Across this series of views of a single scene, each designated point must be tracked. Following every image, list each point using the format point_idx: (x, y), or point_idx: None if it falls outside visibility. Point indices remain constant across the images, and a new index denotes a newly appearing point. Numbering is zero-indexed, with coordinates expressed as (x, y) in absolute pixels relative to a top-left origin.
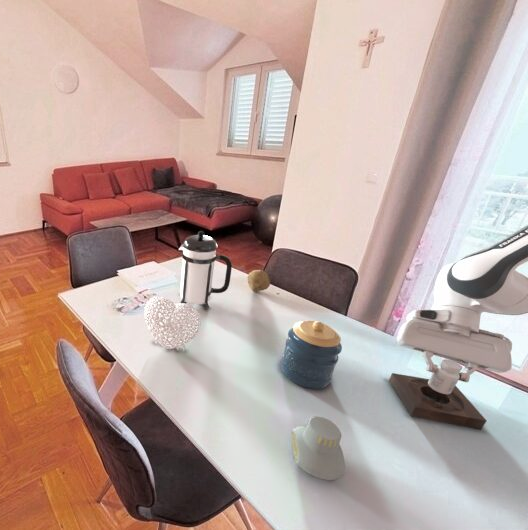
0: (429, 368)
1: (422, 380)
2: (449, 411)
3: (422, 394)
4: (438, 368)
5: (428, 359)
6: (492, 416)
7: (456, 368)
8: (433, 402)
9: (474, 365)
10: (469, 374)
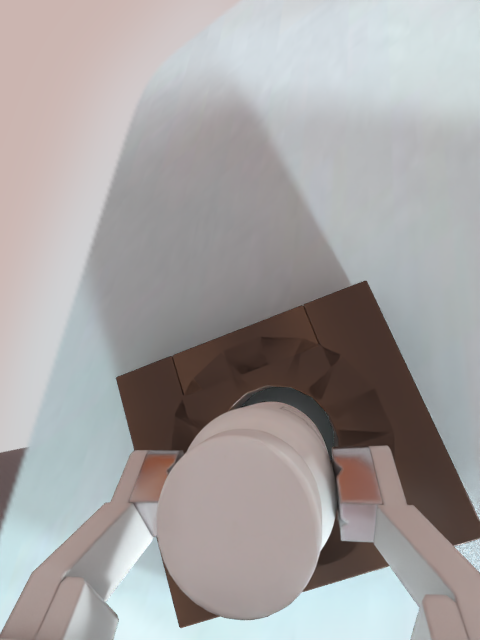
0: (389, 450)
1: (326, 555)
2: (236, 345)
3: (333, 407)
4: (324, 484)
5: (439, 539)
6: (83, 496)
7: (210, 446)
8: (291, 370)
9: (34, 613)
10: (113, 498)
